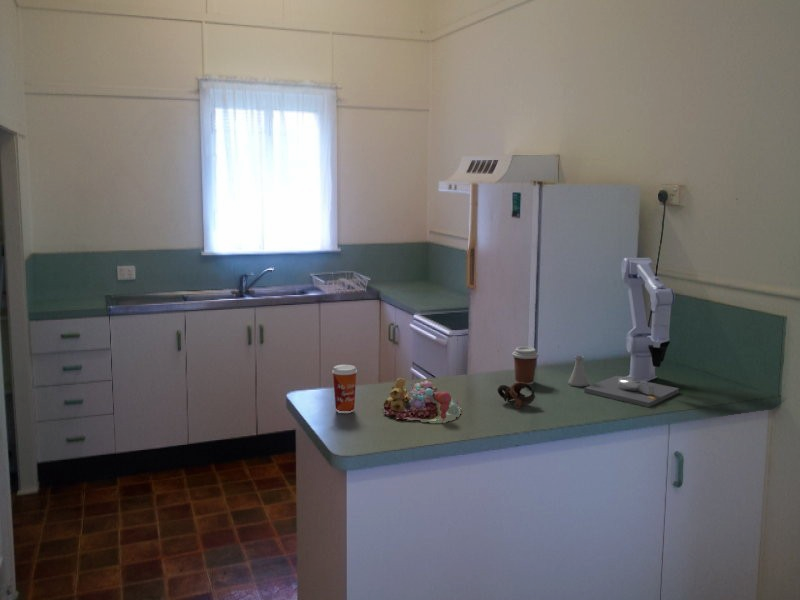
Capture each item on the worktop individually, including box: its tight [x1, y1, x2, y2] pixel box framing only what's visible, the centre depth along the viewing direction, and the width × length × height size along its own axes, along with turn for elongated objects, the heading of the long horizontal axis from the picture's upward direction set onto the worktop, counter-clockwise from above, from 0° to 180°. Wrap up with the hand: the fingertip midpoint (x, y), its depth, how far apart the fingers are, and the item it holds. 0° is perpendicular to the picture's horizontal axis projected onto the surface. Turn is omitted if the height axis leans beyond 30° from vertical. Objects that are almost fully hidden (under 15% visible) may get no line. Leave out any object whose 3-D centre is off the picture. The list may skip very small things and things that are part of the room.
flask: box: [567, 355, 590, 387], centre depth 264 cm, size 7×7×10 cm
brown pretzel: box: [497, 382, 536, 409], centre depth 242 cm, size 12×10×8 cm
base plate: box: [584, 375, 680, 408], centre depth 256 cm, size 22×23×2 cm
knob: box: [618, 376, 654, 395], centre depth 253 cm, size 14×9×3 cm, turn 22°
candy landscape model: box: [382, 377, 462, 421], centre depth 236 cm, size 25×24×9 cm
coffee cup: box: [511, 346, 540, 385], centre depth 267 cm, size 9×9×12 cm
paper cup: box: [331, 364, 358, 411], centre depth 234 cm, size 8×8×14 cm
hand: (658, 363), depth 256 cm, fingers open, 7 cm apart
